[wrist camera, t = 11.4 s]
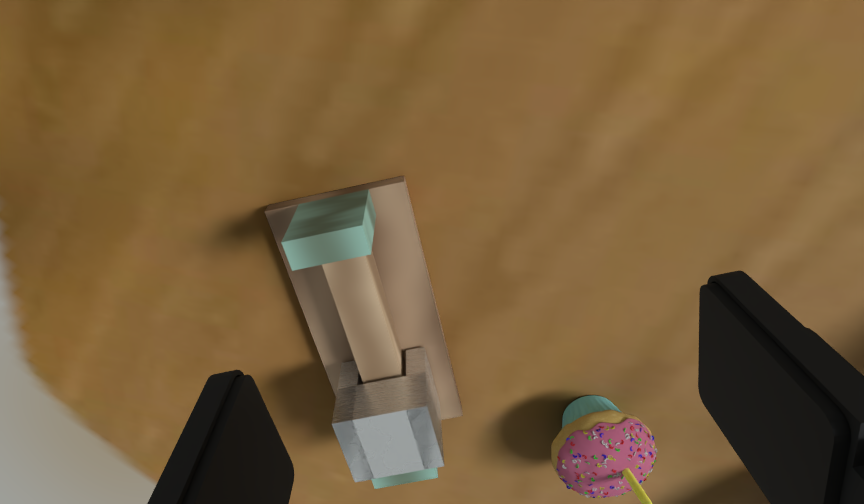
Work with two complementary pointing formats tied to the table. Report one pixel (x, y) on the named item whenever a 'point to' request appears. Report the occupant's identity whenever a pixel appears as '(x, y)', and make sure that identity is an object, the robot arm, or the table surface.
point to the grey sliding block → (389, 420)
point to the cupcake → (602, 450)
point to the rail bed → (396, 283)
